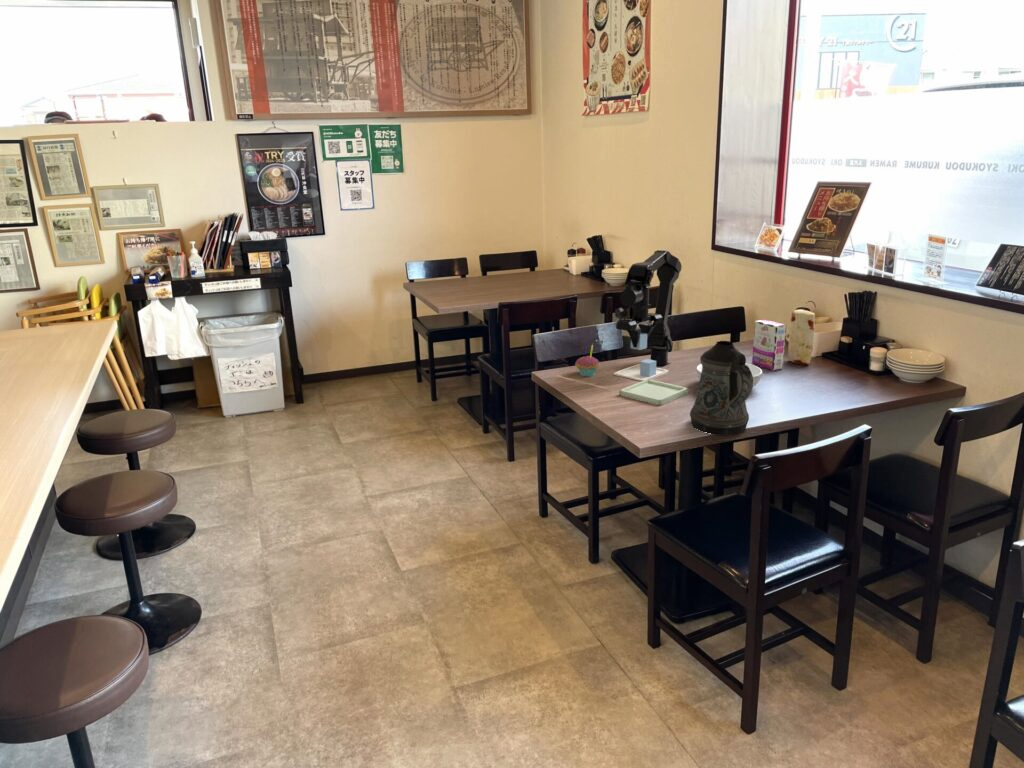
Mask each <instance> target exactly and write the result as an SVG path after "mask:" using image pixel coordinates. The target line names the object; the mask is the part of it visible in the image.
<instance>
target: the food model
mask: <svg viewBox="0 0 1024 768" xmlns="http://www.w3.org/2000/svg"><path fill="white" fill-rule="evenodd" d="M790 319H791V320H790V326H789V336H788V347H787V348H788V351H787V352H788V353H787V354H788V355H787V357H788V360H789V361H790V362H791V363H793V364H794V363H795V364H797V365H802V366H805V365H809V364H810V362H811V359H812V355H813V349H814V344H815V331H816V329H815V328H816V314H815V312H812V311H809V310H805V309H802V308H801V309H794V310H792V312H791V318H790Z"/></svg>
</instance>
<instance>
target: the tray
mask: <svg viewBox="0 0 1024 768" xmlns="http://www.w3.org/2000/svg"><path fill="white" fill-rule="evenodd" d="M618 391H619V393H618V394H619V395H618V396H620V395H621V396H620V397H624V396H625V398H628V397H629V399H632V400H635V399H636V400H637V401H639V400H640V402H643V403H644V402H645V403H647V402H648V403H647V404H652V405H655V406H659V407H660V406H663V405H666V404H667V403H670V402H671V401H674V400H676V399H678V398H681V397H683V396H686V395H687V394H689V387H684V386H681V385H678V384H677V385H676V384H672V383H668V382H667V383H666V382H662V381H659V380H654V379H647V380H644V381H638V382H637V383H634V384H631V385H629V386H626V387H624V388H622V389H619V390H618ZM636 400H635V401H636Z"/></svg>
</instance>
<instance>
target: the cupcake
mask: <svg viewBox="0 0 1024 768" xmlns="http://www.w3.org/2000/svg"><path fill="white" fill-rule="evenodd" d="M590 346H591V347H590V354H589V355H586V356H582V357H579V358H578V359H576V361H575V364H574V365H575V367H576V368H577V369H578V371H579V375H580V376H583V377H593V376H595V374H596V371H597V369H598V368H599V367H600V360H599V359H597V358H596V357H594V356H593V350H594V344H592V345H590Z"/></svg>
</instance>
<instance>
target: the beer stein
mask: <svg viewBox="0 0 1024 768" xmlns="http://www.w3.org/2000/svg"><path fill="white" fill-rule="evenodd" d="M734 345H735V344H734V343H733V341H729V340H719V341H716V342H715V344H714V345H713V346H712V347H710V348H708V350H706V351H705V352H703V353H702V354H701V356H700V359H699V361H700V364H702V372H701V377H700V380H699V383H698V388H697V394H696V397H695V399H694V400H695V401H694V403H693V406H692V408H691V409H690V412H689V418H690V424H692V425H691V426H692V427H693V429H694V428H696V429H698V430H697V431H699V430H700V431H699V432H701V431H703V432H707V433H706V434H708V433H711V434H710V435H715V436H716V435H717V436H731V435H737V434H741V433H742V432H744V431H746V429H747V426H748V423H749V420H750V415H749V412H748V409H747V403H746V402H747V399H748V398H749V397H750V395H751V393H752V391H753V388H754V387H753V376H752V373H751V371H750V369H749V367H748V366H747V365H745V363H747V358H746V356H745V354H743V353H742V352H741V351H739V349H737V348H736V346H734ZM696 429H695V430H696ZM703 432H702V433H703Z"/></svg>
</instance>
